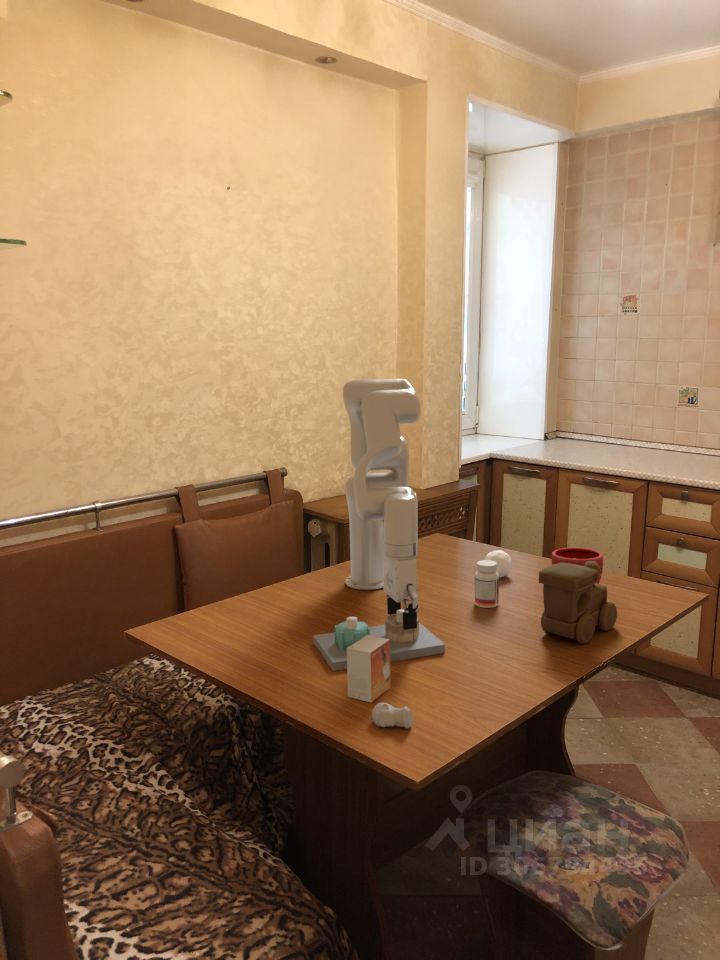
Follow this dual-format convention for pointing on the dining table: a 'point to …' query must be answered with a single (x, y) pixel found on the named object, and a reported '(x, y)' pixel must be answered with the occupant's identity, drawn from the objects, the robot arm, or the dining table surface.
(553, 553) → the plant pot
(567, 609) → the wooden toy train
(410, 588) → the robot arm
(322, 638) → the gear board
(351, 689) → the small box
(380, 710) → the pale two-lobed sculpture
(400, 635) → the wooden gear
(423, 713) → the dining table surface
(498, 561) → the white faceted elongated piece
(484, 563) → the pill bottle
